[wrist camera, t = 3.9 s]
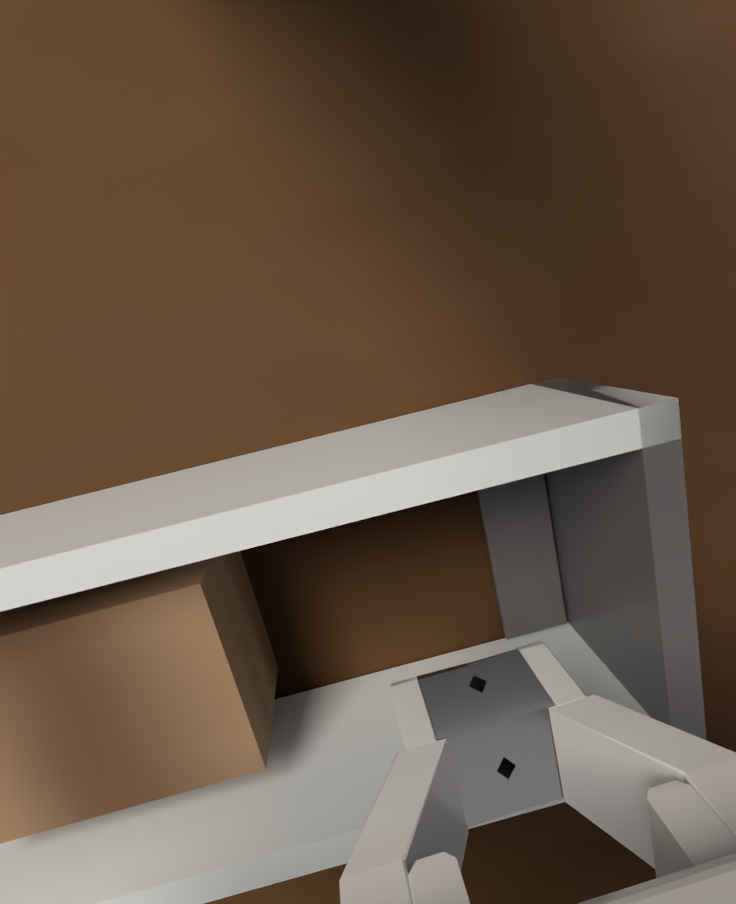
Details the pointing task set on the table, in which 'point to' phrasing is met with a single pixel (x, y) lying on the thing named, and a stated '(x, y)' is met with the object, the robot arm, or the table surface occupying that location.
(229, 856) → the white channel
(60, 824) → the light brown block
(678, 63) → the table surface
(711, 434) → the table surface
